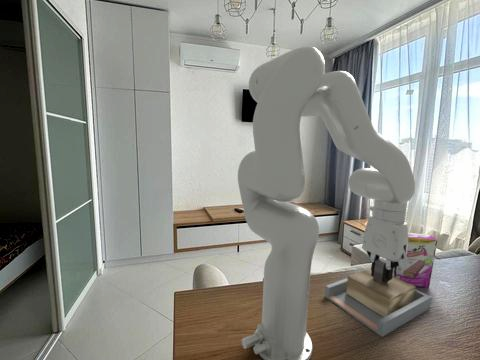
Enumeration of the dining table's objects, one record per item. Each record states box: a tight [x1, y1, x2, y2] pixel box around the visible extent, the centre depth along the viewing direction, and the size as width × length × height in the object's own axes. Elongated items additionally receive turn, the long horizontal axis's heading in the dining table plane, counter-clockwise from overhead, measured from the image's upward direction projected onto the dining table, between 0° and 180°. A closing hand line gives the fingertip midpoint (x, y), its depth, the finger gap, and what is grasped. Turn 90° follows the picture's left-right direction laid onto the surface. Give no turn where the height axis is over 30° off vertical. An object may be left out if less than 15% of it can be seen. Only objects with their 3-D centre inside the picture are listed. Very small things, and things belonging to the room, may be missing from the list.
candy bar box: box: [393, 232, 438, 289], centre depth 80 cm, size 11×5×16 cm, turn 84°
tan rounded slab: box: [346, 257, 416, 317], centre depth 70 cm, size 12×12×12 cm
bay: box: [324, 277, 433, 338], centre depth 71 cm, size 22×17×4 cm
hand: (380, 277), depth 70 cm, fingers closed on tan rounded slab, 2 cm apart
